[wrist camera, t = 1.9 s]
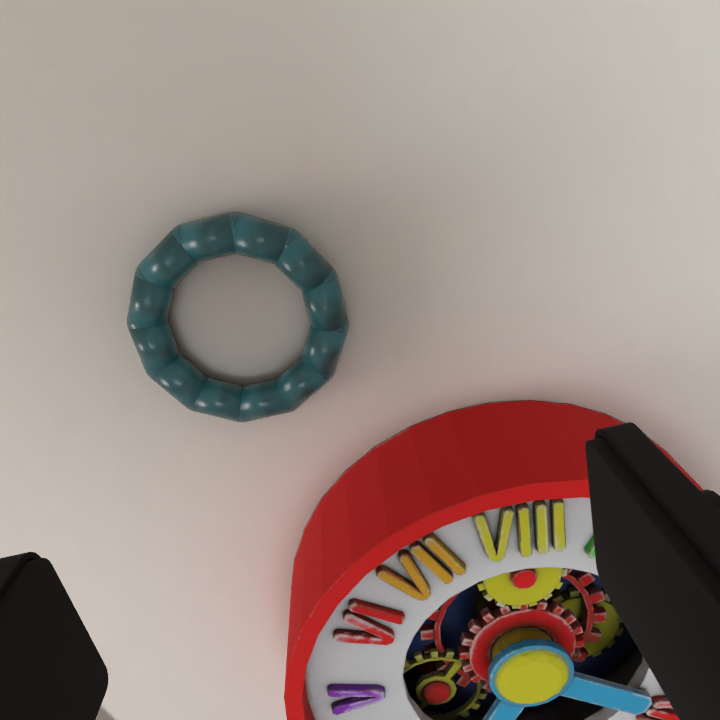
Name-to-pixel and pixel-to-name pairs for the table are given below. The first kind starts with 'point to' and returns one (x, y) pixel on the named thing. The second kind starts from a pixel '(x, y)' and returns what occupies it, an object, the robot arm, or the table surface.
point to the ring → (260, 243)
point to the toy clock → (464, 580)
